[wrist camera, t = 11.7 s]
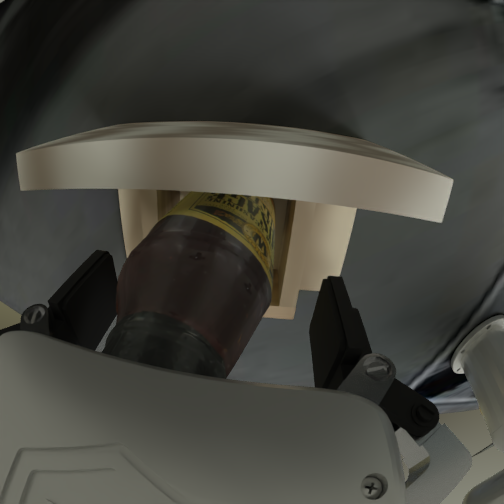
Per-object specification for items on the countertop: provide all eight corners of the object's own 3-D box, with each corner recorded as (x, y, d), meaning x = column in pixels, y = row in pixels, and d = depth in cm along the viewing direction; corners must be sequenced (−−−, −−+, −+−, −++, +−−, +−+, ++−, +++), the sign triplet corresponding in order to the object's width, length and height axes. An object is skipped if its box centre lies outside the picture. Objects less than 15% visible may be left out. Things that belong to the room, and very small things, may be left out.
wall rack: (365, 140, 19) (453, 179, 9) (332, 286, 26) (360, 390, 16) (121, 124, 19) (16, 153, 9) (133, 266, 26) (75, 353, 16)
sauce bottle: (289, 215, 22) (318, 513, 4) (225, 250, 24) (158, 506, 6) (243, 144, 19) (73, 430, 2) (178, 189, 21) (-1, 418, 4)
